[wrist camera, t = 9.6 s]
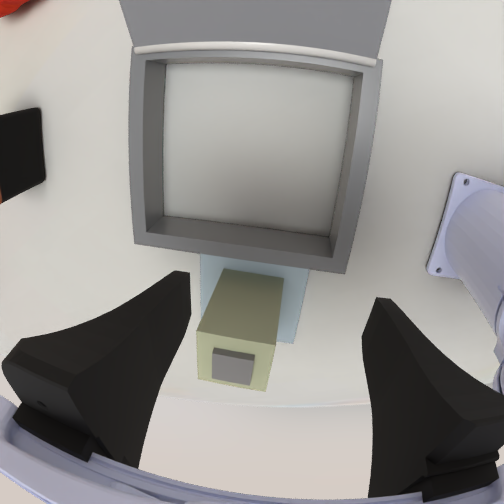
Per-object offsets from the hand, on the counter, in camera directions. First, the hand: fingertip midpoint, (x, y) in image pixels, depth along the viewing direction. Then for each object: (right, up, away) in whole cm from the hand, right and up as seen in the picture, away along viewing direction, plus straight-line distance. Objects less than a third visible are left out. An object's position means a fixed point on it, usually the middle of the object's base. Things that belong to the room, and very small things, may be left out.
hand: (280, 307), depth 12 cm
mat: (-1, -1, +13) cm, 13 cm away
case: (-1, +11, +6) cm, 13 cm away
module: (-1, -1, +12) cm, 13 cm away
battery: (-21, +12, +10) cm, 26 cm away
